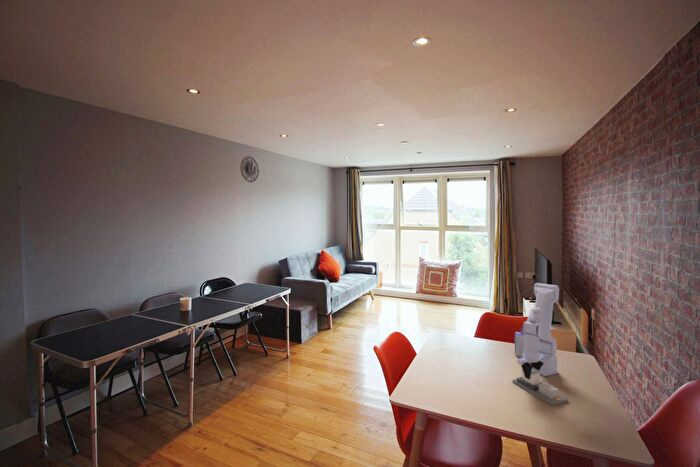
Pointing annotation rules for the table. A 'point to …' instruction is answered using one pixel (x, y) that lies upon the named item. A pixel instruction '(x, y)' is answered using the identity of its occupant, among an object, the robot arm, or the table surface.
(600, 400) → the table surface
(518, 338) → the ink cartridge box
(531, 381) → the plug
